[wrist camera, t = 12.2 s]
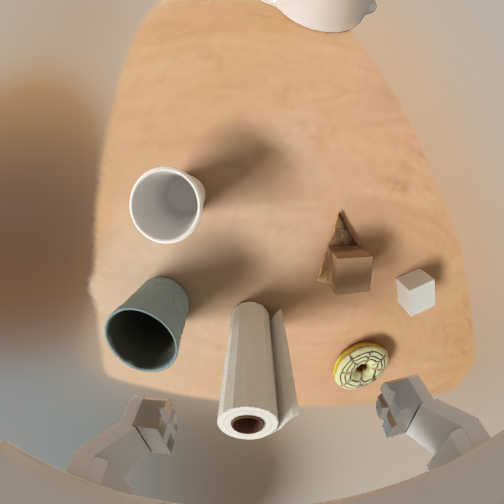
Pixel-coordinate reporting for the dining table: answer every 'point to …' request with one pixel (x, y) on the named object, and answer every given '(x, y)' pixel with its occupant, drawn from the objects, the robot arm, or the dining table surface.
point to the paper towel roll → (256, 375)
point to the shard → (339, 238)
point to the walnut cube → (349, 269)
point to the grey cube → (416, 291)
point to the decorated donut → (354, 357)
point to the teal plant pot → (149, 325)
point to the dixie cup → (167, 204)
